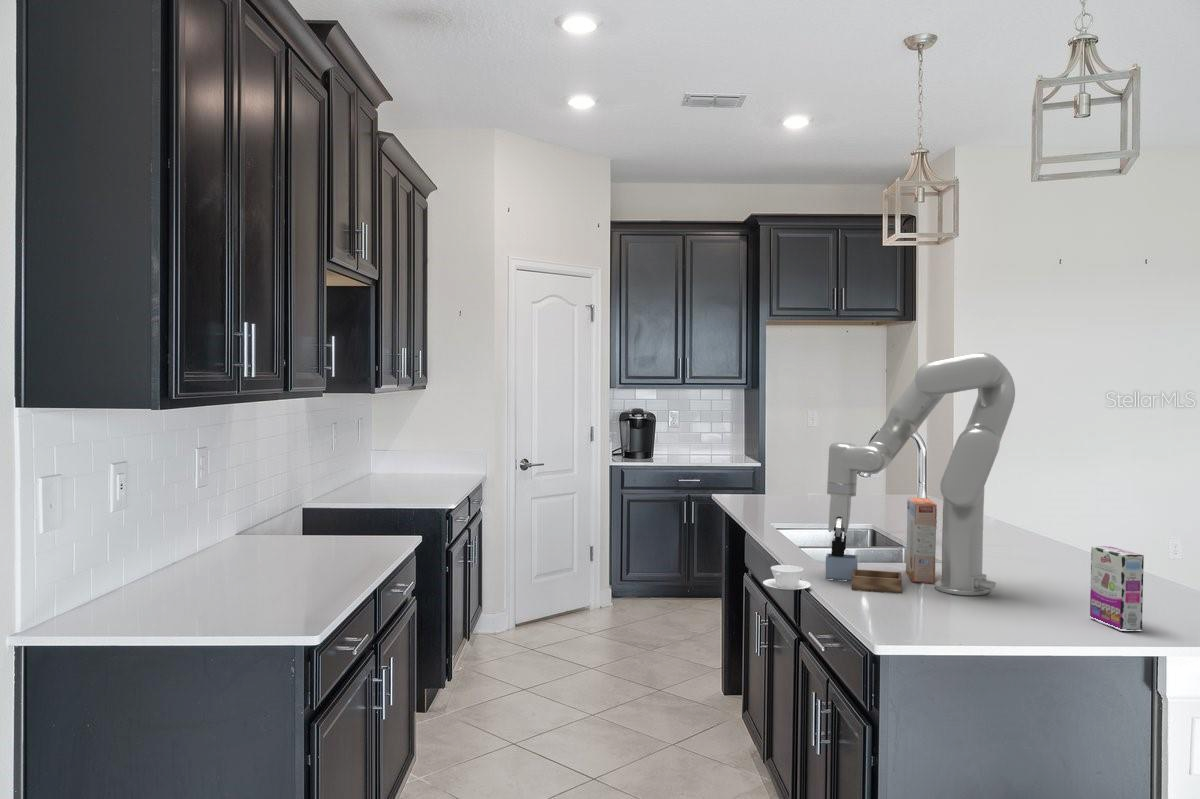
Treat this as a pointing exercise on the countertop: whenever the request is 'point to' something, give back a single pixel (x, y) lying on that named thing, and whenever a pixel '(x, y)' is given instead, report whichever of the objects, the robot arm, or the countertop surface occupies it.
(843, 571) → the slate crate
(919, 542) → the cracker box
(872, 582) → the walnut crate
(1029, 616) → the countertop surface
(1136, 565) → the candy bar box
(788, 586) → the teacup
